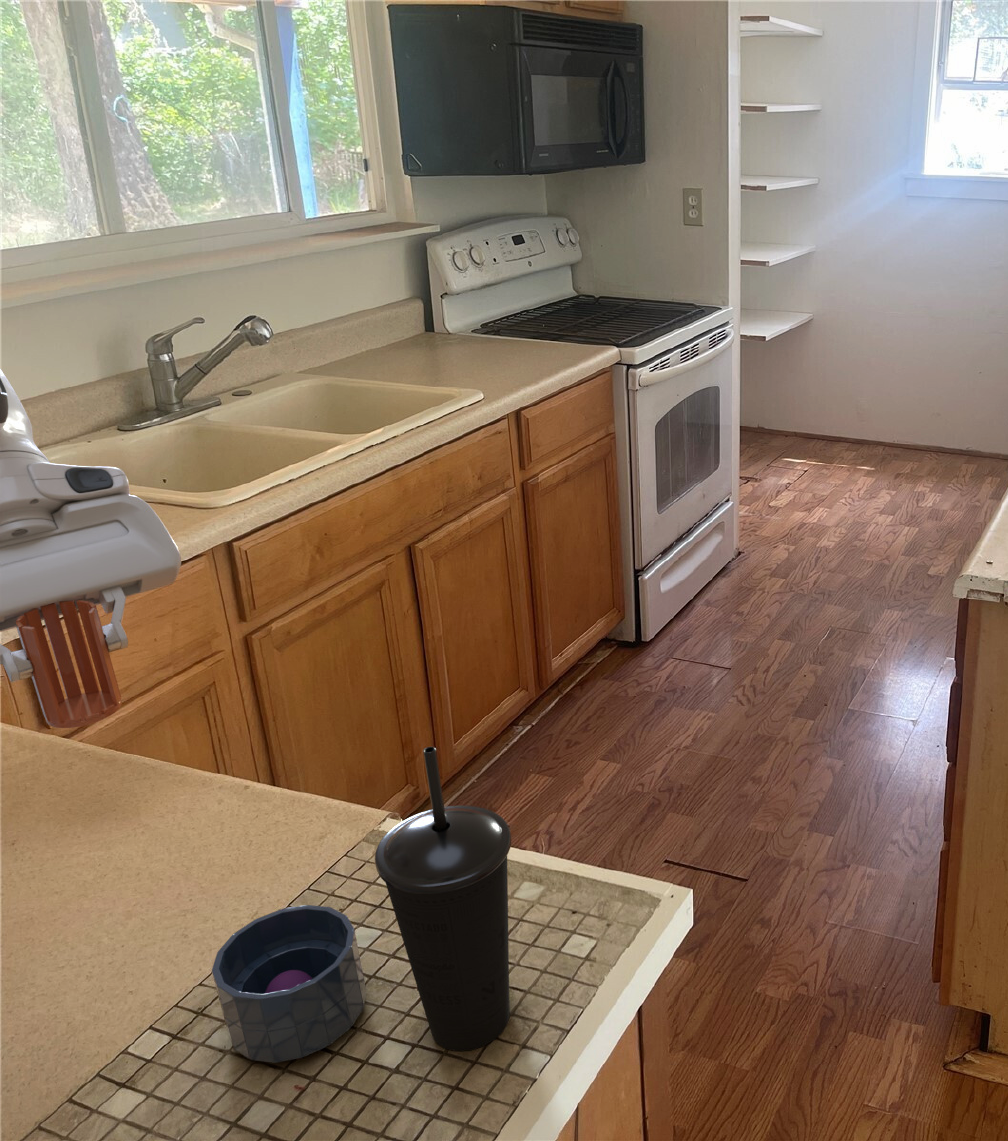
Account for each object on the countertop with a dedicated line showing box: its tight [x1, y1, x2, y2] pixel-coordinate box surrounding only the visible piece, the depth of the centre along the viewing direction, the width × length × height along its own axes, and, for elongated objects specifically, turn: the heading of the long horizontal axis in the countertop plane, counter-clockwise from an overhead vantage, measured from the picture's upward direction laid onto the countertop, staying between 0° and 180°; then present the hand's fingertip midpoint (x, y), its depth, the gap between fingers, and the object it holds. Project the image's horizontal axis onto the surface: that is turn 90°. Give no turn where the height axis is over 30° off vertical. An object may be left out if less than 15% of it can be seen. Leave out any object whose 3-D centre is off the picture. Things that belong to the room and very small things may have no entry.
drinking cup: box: [374, 746, 512, 1052], centre depth 63 cm, size 8×8×20 cm
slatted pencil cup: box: [15, 600, 123, 729], centre depth 83 cm, size 5×5×8 cm
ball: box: [265, 970, 312, 994], centre depth 67 cm, size 3×3×3 cm
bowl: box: [211, 904, 367, 1064], centre depth 67 cm, size 8×8×6 cm
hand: (72, 661), depth 82 cm, fingers closed on slatted pencil cup, 5 cm apart
